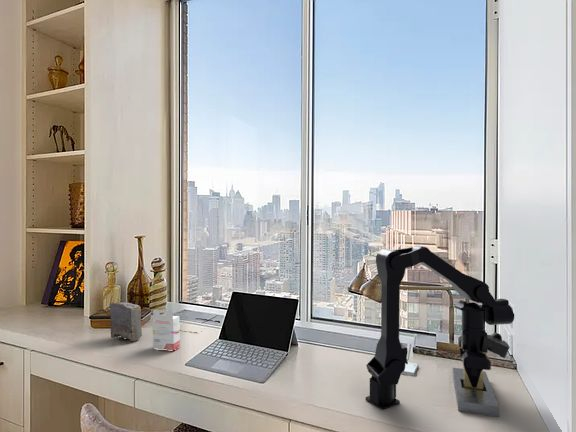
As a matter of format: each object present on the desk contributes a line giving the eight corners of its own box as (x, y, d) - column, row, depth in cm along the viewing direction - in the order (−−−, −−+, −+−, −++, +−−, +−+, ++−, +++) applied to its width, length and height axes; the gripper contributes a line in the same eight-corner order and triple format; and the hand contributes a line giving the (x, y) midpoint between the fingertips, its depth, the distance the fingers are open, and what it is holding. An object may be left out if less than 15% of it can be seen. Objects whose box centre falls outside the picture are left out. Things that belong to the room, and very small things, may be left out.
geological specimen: (142, 339, 152) (142, 301, 152) (130, 344, 147) (130, 304, 147) (121, 336, 156) (121, 298, 156) (109, 340, 151) (108, 302, 151)
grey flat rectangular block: (498, 417, 95) (498, 406, 94) (458, 410, 98) (458, 400, 97) (485, 379, 115) (485, 371, 115) (452, 375, 118) (452, 367, 118)
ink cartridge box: (180, 347, 143) (180, 307, 143) (173, 352, 139) (173, 311, 138) (159, 345, 145) (159, 306, 145) (152, 350, 141) (151, 309, 140)
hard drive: (418, 363, 125) (380, 356, 131) (414, 372, 118) (373, 365, 124) (418, 368, 125) (379, 361, 131) (414, 378, 118) (373, 370, 124)
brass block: (483, 399, 103) (483, 373, 103) (464, 396, 105) (464, 371, 105) (481, 392, 108) (481, 366, 108) (463, 389, 109) (463, 364, 109)
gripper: (514, 339, 95) (513, 403, 95) (500, 319, 112) (500, 373, 112) (464, 334, 98) (463, 396, 99) (458, 315, 116) (457, 368, 116)
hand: (472, 382), depth 106 cm, fingers open, 6 cm apart
